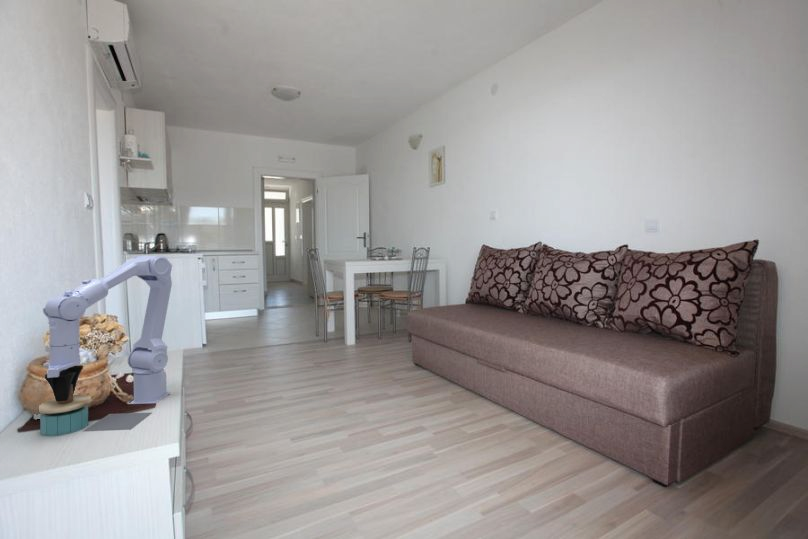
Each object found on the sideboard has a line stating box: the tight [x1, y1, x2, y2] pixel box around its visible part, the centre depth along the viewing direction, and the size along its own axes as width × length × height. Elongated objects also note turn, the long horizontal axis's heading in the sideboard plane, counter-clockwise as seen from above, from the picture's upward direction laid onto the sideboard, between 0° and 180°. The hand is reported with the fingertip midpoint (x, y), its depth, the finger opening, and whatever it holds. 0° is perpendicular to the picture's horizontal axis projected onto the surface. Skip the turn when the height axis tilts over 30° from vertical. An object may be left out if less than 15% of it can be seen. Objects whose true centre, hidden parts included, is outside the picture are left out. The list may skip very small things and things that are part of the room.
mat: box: [83, 412, 153, 432], centre depth 104 cm, size 11×11×1 cm
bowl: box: [39, 404, 89, 437], centre depth 100 cm, size 9×9×5 cm
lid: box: [39, 384, 92, 414], centre depth 99 cm, size 10×10×5 cm
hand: (64, 398), depth 99 cm, fingers closed on lid, 3 cm apart
